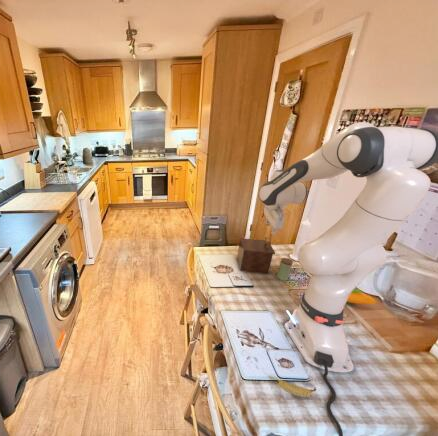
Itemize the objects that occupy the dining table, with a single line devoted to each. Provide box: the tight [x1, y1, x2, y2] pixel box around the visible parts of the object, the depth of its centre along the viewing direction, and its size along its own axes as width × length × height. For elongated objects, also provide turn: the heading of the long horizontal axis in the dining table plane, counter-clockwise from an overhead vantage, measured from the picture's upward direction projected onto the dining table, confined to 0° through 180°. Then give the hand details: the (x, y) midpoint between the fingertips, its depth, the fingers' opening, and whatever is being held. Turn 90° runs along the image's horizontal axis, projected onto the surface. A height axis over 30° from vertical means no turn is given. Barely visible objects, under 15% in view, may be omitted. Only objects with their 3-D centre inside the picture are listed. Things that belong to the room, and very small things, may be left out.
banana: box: [276, 379, 317, 398], centre depth 67 cm, size 10×2×4 cm, turn 77°
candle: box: [289, 217, 312, 262], centre depth 125 cm, size 7×7×25 cm
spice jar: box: [276, 257, 294, 281], centre depth 113 cm, size 5×5×10 cm
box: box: [236, 240, 274, 275], centre depth 123 cm, size 14×13×12 cm
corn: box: [345, 288, 378, 306], centre depth 99 cm, size 7×8×20 cm
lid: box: [239, 236, 276, 255], centre depth 119 cm, size 14×13×5 cm
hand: (270, 229), depth 115 cm, fingers open, 8 cm apart
